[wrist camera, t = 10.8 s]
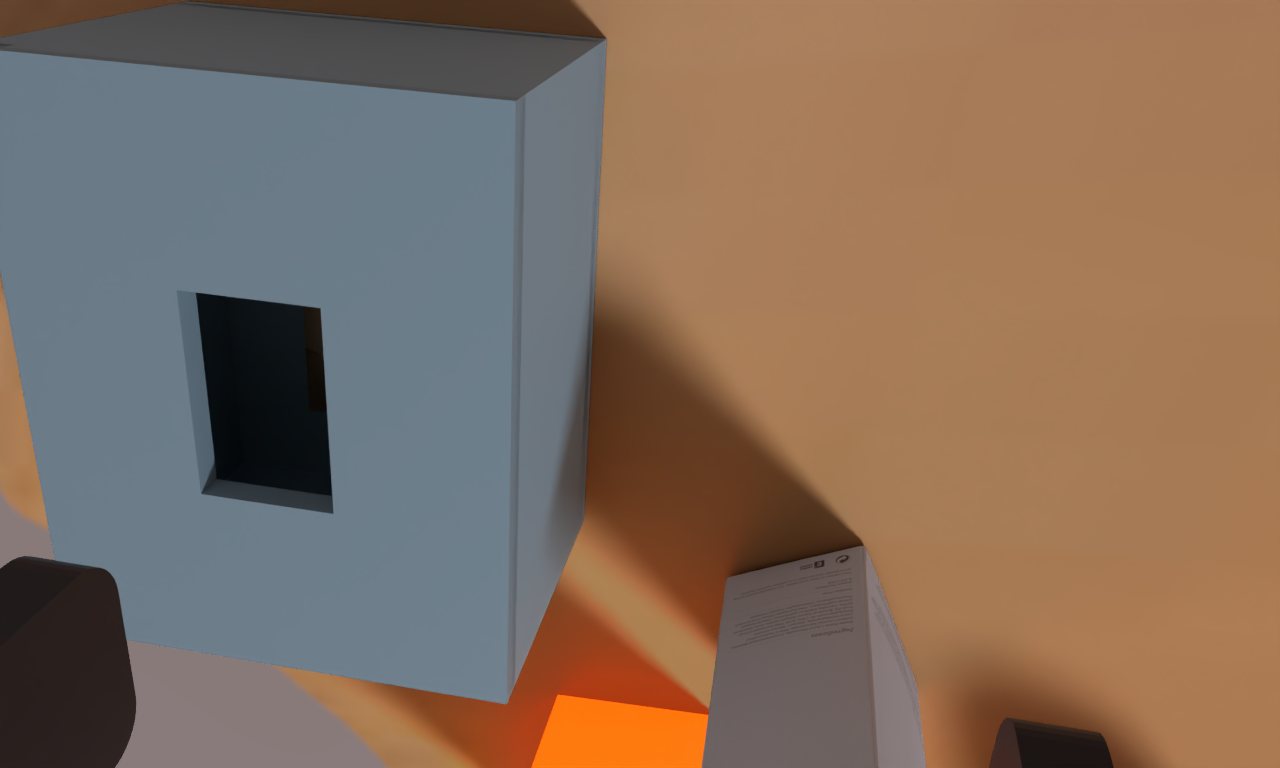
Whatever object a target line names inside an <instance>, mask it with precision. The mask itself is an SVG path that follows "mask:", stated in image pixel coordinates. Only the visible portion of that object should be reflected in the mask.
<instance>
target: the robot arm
mask: <svg viewBox="0 0 1280 768" xmlns="http://www.w3.org/2000/svg"><path fill="white" fill-rule="evenodd" d="M135 714H136V696H135V689H134V683H133V677H132V671H131V666H130V659H129V653H128V647H127V640H126V634H125V628H124V622H123V616H122V610H121V604H120V598H119V592H118V588H117V584H116V582H115V579H114V577H113V576H112V575H111V573H109V572H108V571H107V570H105V569H103V568H99V567H93V566H87V565H80V564H74V563H68V562H62V561H56V560H49V559H43V558H37V557H30V556H23V557H19V558H16V559H14V560H12V561H10V562H9V563H7V564H6V565H4V566H3V567H2V568H1V569H0V768H115V766H116V765H117V764H118V762H119V760H120V759H121V757H122V755H123V753H124V751H125V749H126V747H127V744H128V742H129V739H130V736H131V733H132V730H133V725H134V721H135ZM989 768H1114V767H1113V764H1112V760H1111V757H1110V753H1109V750H1108V747H1107V744H1106V741H1105V739H1104V737H1103V736H1102V735H1101V734H1100V733H1098V732H1094V731H1088V730H1082V729H1076V728H1070V727H1063V726H1057V725H1051V724H1045V723H1039V722H1033V721H1026V720H1020V719H1014V718H1005V719H1004V720H1003V722H1002V724H1001V726H1000V728H999V731H998V734H997V738H996V741H995V745H994V749H993V753H992V757H991V761H990V765H989Z"/></svg>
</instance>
